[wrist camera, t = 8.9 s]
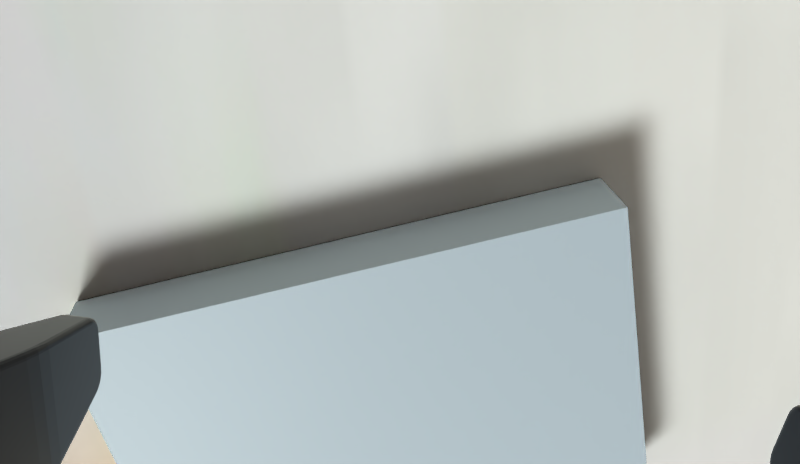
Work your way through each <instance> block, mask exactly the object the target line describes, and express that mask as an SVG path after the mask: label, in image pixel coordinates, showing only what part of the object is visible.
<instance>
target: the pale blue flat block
mask: <svg viewBox="0 0 800 464" xmlns="http://www.w3.org/2000/svg"><path fill="white" fill-rule="evenodd" d="M70 315H74V316H82V317H89V318H92V319H94V320H95V322H96V323H97V326H98V332H99V345H100V358H101V380H100V384H99V388H98V391H97V393H96V395H95V397H94V399H93V401H92V403H91V405H90V407H89V410H90V412H91V414H92V416H93V418H94V420H95V422H96V424H97V426H98V428H99V430H100V432H101V434H102V436H103V438H104V440H105V442H106V444H107V446H108V448H109V450H110V452H111V454H112V456H113V458H114V460H115V462H116V464H647V463H646V450H645V436H644V423H643V409H642V396H641V382H640V368H639V355H638V341H637V328H636V314H635V301H634V287H633V274H632V260H631V246H630V233H629V219H628V207H627V206H626V205H625V204H624V203H623V202H622V201H621V200H620V199H619V197H618V196H617V195H616V194H615V193H614V192H613V191H612V190H611V189H610V188H609V187H608V186H607V184H606V183H605V182H604V181H603V180H602V179H601V178H598V179H594V180H590V181H585V182H581V183H577V184H573V185H569V186H564V187H560V188H556V189H552V190H547V191H543V192H539V193H535V194H530V195H526V196H522V197H518V198H514V199H509V200H505V201H501V202H497V203H492V204H488V205H484V206H480V207H476V208H471V209H467V210H463V211H459V212H454V213H450V214H446V215H442V216H438V217H433V218H429V219H425V220H421V221H416V222H412V223H408V224H404V225H399V226H395V227H391V228H387V229H383V230H378V231H374V232H370V233H366V234H361V235H357V236H353V237H349V238H345V239H340V240H336V241H332V242H328V243H323V244H319V245H315V246H311V247H306V248H302V249H298V250H294V251H290V252H285V253H281V254H277V255H273V256H268V257H264V258H260V259H256V260H252V261H247V262H243V263H239V264H235V265H230V266H226V267H222V268H218V269H214V270H209V271H205V272H201V273H197V274H192V275H188V276H184V277H180V278H175V279H171V280H167V281H163V282H159V283H154V284H150V285H146V286H142V287H137V288H133V289H129V290H125V291H121V292H116V293H112V294H108V295H104V296H99V297H95V298H91V299H87V300H82V301H78V302H76V303H75V305H74V307H73V309H72V311H71V313H70Z"/></svg>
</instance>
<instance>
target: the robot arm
mask: <svg viewBox="0 0 800 464" xmlns="http://www.w3.org/2000/svg"><path fill="white" fill-rule="evenodd" d="M100 380H101V358H100V345H99V332H98V326H97V323H96V322H95V320H94V319H92V318H89V317H82V316H74V315H60V316H56V317H52V318H48V319H44V320H40V321H37V322H33V323H29V324H25V325H21V326H17V327H13V328H9V329H6V330H2V331H0V464H61V462H62V460H63V458H64V456H65V454H66V452H67V450H68V448H69V446H70V444H71V442H72V440H73V438H74V436H75V434H76V432H77V431H78V429H79V427H80V425H81V423H82V421H83V419H84V417H85V415H86V413H87V411H88V409H89V407H90V405H91V403H92V401H93V399H94V397H95V395H96V393H97V391H98V388H99V384H100ZM770 464H800V405H798V406H796V407H794V408H793V409H792V410H791V411H790V412H789V414H788V416H787V419H786V421H785V423H784V425H783V428H782V430H781V432H780V435H779V437H778V439H777V441H776V444H775V446H774V448H773V451H772V454H771V459H770Z"/></svg>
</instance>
